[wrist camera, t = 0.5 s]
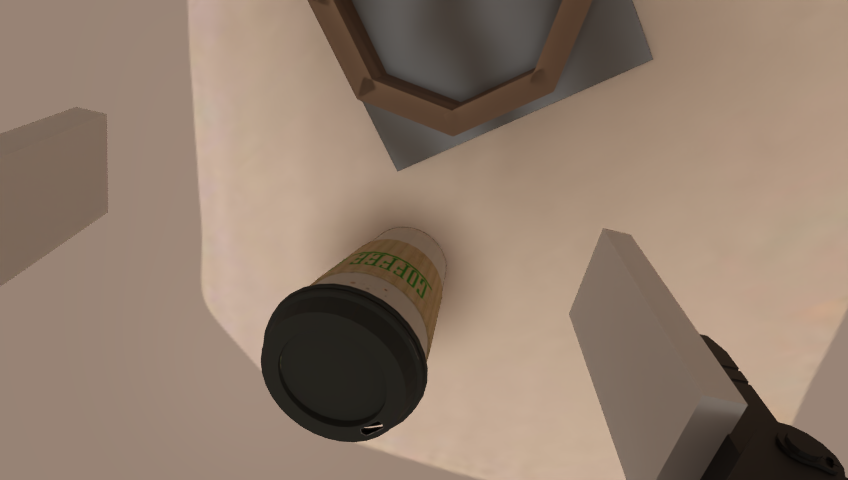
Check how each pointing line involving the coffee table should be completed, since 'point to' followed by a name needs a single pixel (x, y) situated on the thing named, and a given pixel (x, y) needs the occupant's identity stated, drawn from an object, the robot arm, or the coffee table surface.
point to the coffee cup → (358, 339)
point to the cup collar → (472, 61)
